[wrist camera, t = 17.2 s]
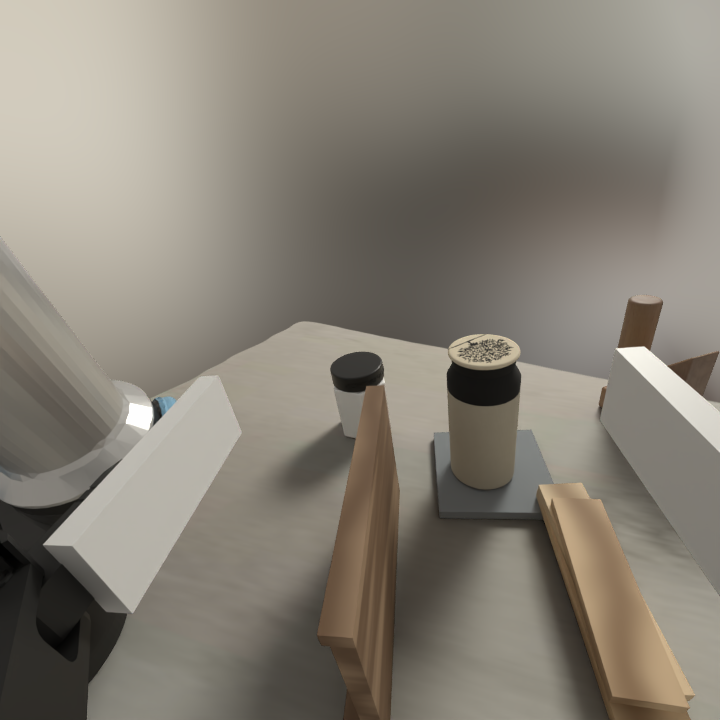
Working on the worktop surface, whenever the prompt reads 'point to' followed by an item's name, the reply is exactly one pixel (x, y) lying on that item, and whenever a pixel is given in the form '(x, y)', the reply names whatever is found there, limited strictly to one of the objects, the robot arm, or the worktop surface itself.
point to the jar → (355, 386)
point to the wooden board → (365, 568)
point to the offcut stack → (612, 610)
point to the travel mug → (483, 409)
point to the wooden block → (641, 334)
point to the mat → (493, 503)
